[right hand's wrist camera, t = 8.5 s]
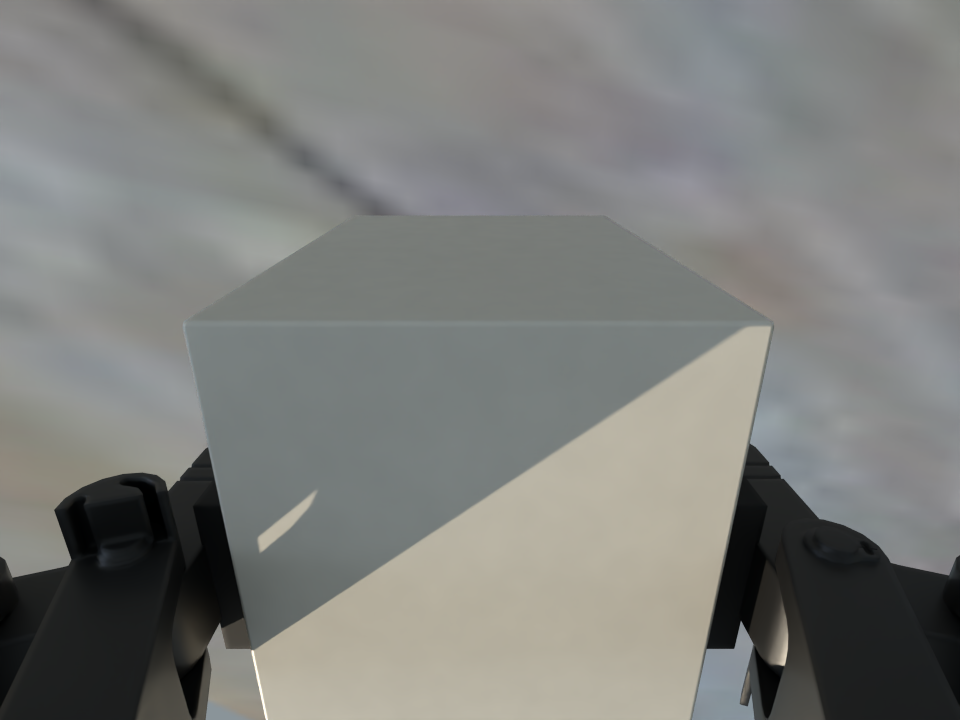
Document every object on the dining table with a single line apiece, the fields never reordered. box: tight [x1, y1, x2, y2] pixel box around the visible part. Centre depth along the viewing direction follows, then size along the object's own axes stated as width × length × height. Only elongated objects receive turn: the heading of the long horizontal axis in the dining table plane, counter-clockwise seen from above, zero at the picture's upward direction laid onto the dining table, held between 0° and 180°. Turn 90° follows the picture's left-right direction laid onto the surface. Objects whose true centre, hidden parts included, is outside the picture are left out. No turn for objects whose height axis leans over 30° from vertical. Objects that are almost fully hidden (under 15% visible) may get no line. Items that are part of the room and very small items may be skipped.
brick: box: [183, 216, 774, 720], centre depth 12 cm, size 8×6×9 cm
